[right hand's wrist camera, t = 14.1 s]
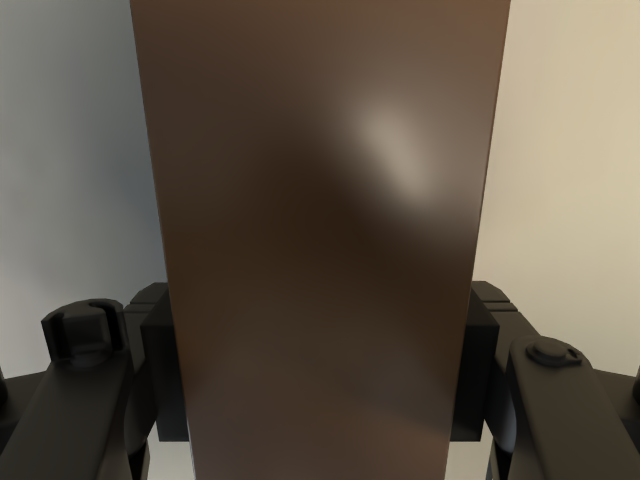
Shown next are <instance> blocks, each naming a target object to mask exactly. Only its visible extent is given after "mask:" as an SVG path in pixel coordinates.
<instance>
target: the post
mask: <svg viewBox="0 0 640 480" xmlns="http://www.w3.org/2000/svg"><path fill="white" fill-rule="evenodd" d="M510 2H511V0H130V7H131V15H132V22H133V30H134V37H135V44H136V52H137V59H138V66H139V74H140V81H141V88H142V96H143V103H144V110H145V118H146V125H147V132H148V140H149V147H150V155H151V162H152V169H153V177H154V184H155V191H156V199H157V206H158V213H159V221H160V228H161V235H162V243H163V250H164V257H165V265H166V272H167V280H168V287H169V294H170V302H171V309H172V316H173V324H174V331H175V338H176V346H177V353H178V360H179V368H180V375H181V382H182V390H183V397H184V405H185V412H186V419H187V427H188V434H189V441H190V449H191V456H192V463H193V471H194V478H195V480H444V478H445V471H446V464H447V456H448V449H449V442H450V435H451V428H452V420H453V413H454V406H455V399H456V391H457V384H458V377H459V370H460V363H461V355H462V348H463V341H464V334H465V327H466V319H467V312H468V305H469V298H470V291H471V283H472V276H473V269H474V262H475V255H476V247H477V240H478V233H479V226H480V218H481V211H482V204H483V197H484V190H485V182H486V175H487V168H488V161H489V154H490V146H491V139H492V132H493V125H494V118H495V110H496V103H497V96H498V89H499V82H500V74H501V67H502V60H503V53H504V46H505V38H506V31H507V24H508V17H509V9H510Z"/></svg>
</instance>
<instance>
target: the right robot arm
mask: <svg viewBox="0 0 640 480" xmlns="http://www.w3.org/2000/svg"><path fill="white" fill-rule="evenodd" d="M41 324H42V328H43V331H44V335H45V339H46V343H47V347H48V350H49V354H50V358H51V363H50V365H49V367H48V368H47V370H46V371H43V372H39V373H34V374H29V375H24V376H18V377H13V378H8V379H4V377H3V374H2V371H1V367H0V480H147V477H148V469H149V462H150V453H149V446H148V441H147V437H148V435H149V433H150V431H151V429H152V427H153V425H154V423H155V421H156V425H157V431H158V437H159V442H190V441H189V434H188V427H187V419H186V412H185V405H184V397H183V390H182V382H181V375H180V368H179V360H178V353H177V346H176V338H175V331H174V324H173V316H172V309H171V302H170V294H169V287H168V283H153V284H151V285H150V286H148V287H146V288H144V289H143V290H141V291H139V292H138V293H137V295H136V296H135V297H134V298H133V299H132V300H131V302H130V304H128V305H127V306H126V307H125V308H124V310H123V305H122V304H120V303H119V302H118V301H116V300H111V299H88V300H83V301H78V302H74V303H71V304H68V305H65V306H62V307H60V308H58V309H56V310H55V311H53V312H51V313H49V314H48V315H47V316H46V317H45V318H44V319H43V320H42V321H41ZM484 419H485V421H486V423H487V425H488V427H489V429H490V431H491V433H492V435H493V441H492V446H491V452H490V457H489V463H488V468H487V474H486V480H492V478H493V480H640V366H639V369H638V373H637V376H636V377H632V376H627V375H622V374H616V373H611V372H606V371H601V370H596V369H593V368H592V366H591V364H590V362H589V360H588V359H587V358H586V357H585V356H584V355H583V354H582V352H580V351H579V350H577V349H576V348H574V347H572V346H571V345H569V344H567V343H564V342H562V341H559V340H557V339H554V338H549V337H545V336H540V334H539V333H538V332H537V331H536V330H535V329H534V328H533V326H532V325H531V324H530V323H529V322H528V321H527V319H526V318H525V317H524V316H523V315H522V314H521V313H520V312H518V309H517V308H516V307H515V306H514V305H513V303H510V300H509V299H508V298H507V296H506V295H505V294H504V293H503V292H502V291H501V290H500V289H498V288H496V287H495V286H493V285H491V284H489V283H488V282H486V281H472V283H471V291H470V298H469V305H468V312H467V319H466V327H465V334H464V341H463V348H462V355H461V363H460V370H459V377H458V384H457V391H456V399H455V406H454V413H453V420H452V428H451V435H450V442H480V441H481V435H482V429H483V423H484Z"/></svg>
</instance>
